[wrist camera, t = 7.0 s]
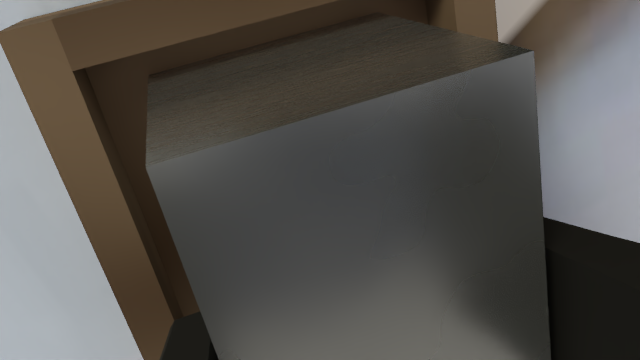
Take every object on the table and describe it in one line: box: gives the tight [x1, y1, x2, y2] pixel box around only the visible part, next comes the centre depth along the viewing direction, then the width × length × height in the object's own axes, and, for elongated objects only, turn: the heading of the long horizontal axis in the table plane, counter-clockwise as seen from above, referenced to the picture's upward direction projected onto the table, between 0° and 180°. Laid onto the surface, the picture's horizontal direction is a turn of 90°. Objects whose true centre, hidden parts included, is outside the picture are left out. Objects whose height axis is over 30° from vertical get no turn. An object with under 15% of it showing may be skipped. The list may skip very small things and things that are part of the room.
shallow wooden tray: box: [0, 0, 498, 360], centre depth 12 cm, size 12×8×2 cm
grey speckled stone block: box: [146, 12, 551, 360], centre depth 10 cm, size 4×8×5 cm, turn 13°
